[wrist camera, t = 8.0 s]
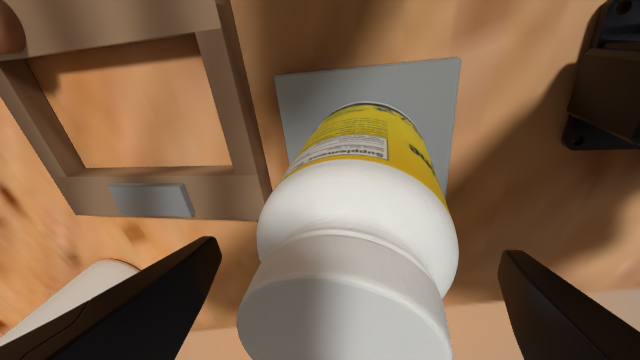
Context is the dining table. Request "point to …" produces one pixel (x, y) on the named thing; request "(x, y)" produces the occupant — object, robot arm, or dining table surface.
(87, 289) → the milk bottle
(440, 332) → the pill bottle
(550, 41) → the dining table surface
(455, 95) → the grey pad
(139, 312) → the robot arm
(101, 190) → the wooden frame
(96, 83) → the dining table surface
